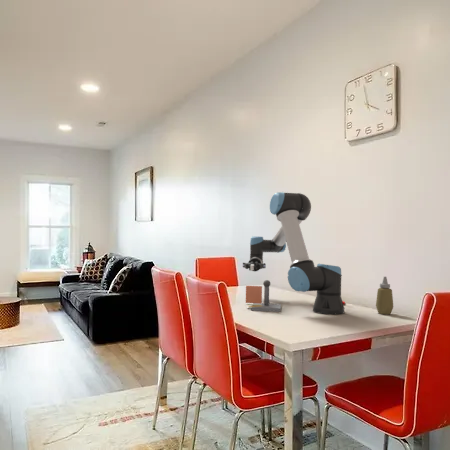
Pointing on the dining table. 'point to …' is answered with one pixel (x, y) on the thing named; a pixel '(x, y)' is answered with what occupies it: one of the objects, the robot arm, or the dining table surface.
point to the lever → (258, 293)
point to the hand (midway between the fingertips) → (251, 268)
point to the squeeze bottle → (384, 298)
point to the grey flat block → (265, 307)
